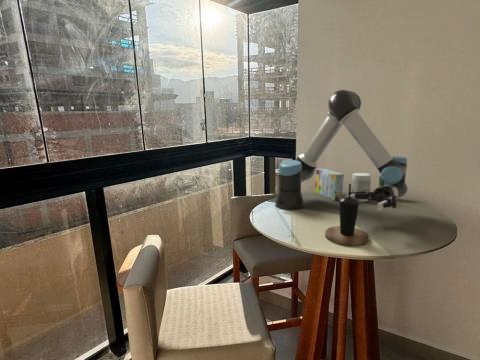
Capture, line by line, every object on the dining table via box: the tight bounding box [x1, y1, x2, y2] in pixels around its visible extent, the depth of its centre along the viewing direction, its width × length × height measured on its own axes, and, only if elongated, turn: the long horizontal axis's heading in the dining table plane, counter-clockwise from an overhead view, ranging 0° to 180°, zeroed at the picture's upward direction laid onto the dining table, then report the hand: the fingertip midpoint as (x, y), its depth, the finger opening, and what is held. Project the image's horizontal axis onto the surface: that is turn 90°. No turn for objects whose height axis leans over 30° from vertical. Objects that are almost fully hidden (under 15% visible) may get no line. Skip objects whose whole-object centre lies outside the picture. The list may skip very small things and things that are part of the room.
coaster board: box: [324, 225, 370, 247], centre depth 114 cm, size 16×16×2 cm
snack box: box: [314, 167, 345, 202], centre depth 172 cm, size 21×6×15 cm, turn 17°
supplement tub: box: [351, 172, 372, 203], centre depth 162 cm, size 10×10×15 cm
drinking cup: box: [338, 183, 360, 236], centre depth 112 cm, size 8×8×20 cm
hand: (361, 203), depth 118 cm, fingers open, 13 cm apart
